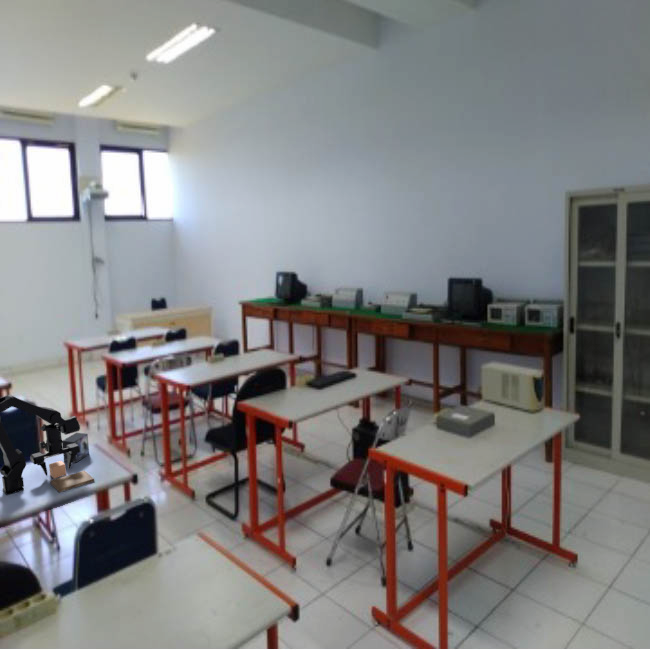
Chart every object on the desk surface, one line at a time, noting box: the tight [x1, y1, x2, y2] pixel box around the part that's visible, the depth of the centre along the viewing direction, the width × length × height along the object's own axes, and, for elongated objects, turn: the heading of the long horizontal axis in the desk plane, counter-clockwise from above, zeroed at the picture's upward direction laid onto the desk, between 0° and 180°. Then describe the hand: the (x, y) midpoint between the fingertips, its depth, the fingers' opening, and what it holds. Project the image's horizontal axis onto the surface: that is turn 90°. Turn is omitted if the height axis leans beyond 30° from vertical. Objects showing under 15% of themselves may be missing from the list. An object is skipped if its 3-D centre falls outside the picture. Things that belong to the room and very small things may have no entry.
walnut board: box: [49, 469, 95, 493], centre depth 234 cm, size 14×11×1 cm
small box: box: [62, 432, 90, 464], centre depth 257 cm, size 11×6×10 cm, turn 168°
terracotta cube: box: [48, 460, 67, 479], centre depth 241 cm, size 5×5×5 cm
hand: (57, 472), depth 242 cm, fingers open, 9 cm apart
